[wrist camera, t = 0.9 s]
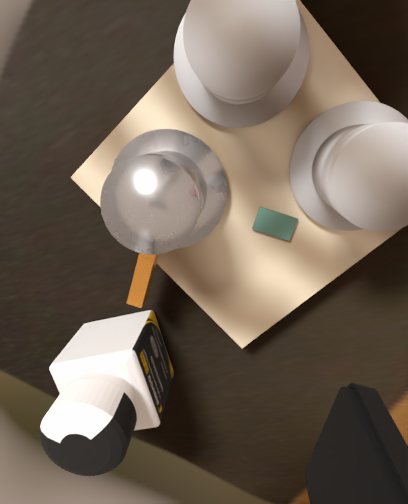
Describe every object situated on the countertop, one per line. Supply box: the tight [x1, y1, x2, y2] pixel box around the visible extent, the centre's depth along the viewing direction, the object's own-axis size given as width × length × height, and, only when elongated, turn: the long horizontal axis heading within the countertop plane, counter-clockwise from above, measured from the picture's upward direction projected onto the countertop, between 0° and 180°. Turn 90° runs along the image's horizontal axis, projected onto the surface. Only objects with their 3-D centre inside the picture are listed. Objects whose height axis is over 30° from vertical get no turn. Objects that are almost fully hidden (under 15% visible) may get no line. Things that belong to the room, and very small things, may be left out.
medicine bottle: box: [40, 310, 174, 476], centre depth 30 cm, size 7×7×12 cm
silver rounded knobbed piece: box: [100, 129, 228, 308], centre depth 26 cm, size 14×9×7 cm, turn 163°
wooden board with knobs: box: [71, 0, 408, 348], centre depth 25 cm, size 20×22×9 cm
